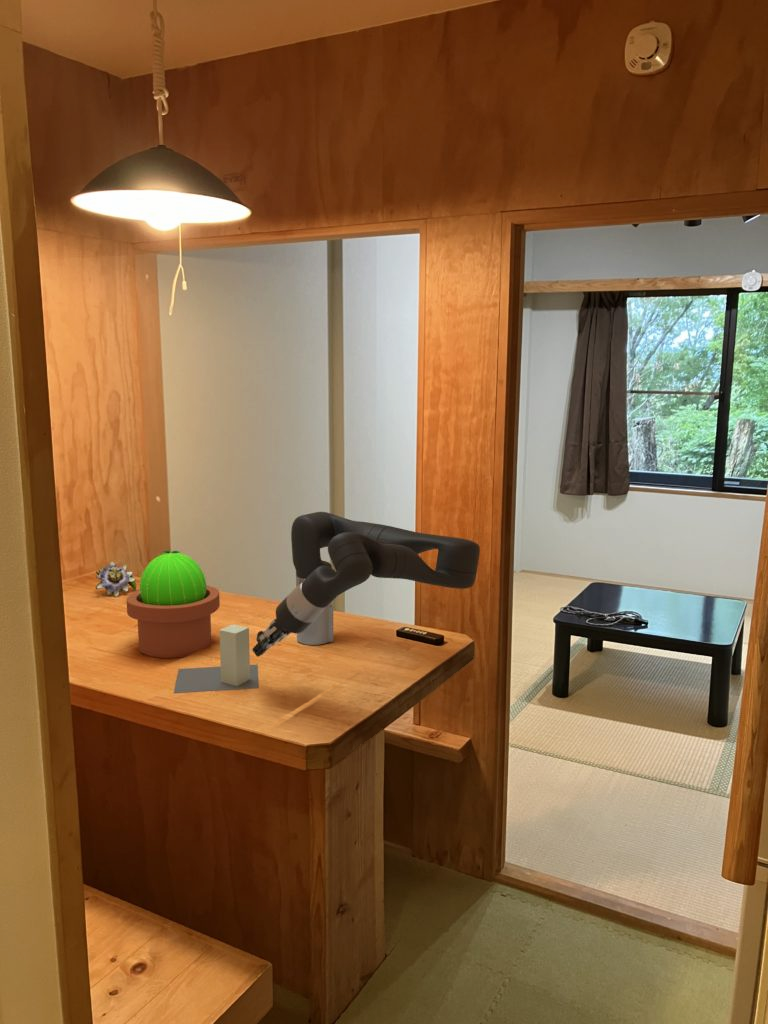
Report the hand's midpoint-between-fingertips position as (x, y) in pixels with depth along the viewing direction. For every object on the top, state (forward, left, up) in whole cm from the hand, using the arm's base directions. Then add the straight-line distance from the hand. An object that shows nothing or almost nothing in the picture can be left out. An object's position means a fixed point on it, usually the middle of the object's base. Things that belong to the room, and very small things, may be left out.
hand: (256, 652), depth 172 cm
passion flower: (+42, -83, -9) cm, 93 cm away
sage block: (+5, -4, -8) cm, 10 cm away
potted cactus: (+20, -31, -9) cm, 38 cm away
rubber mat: (+9, -6, -9) cm, 14 cm away
